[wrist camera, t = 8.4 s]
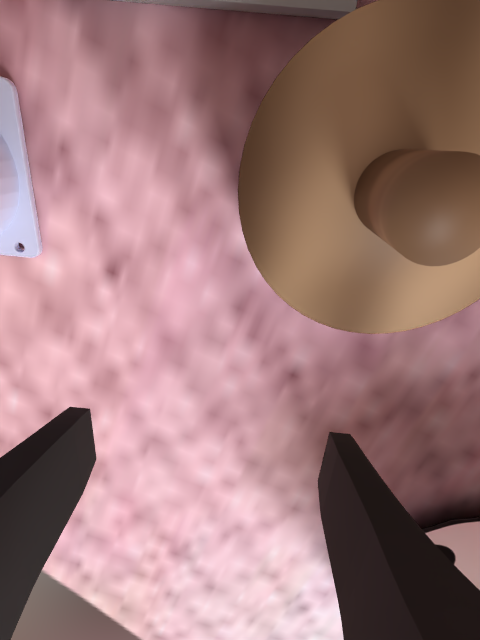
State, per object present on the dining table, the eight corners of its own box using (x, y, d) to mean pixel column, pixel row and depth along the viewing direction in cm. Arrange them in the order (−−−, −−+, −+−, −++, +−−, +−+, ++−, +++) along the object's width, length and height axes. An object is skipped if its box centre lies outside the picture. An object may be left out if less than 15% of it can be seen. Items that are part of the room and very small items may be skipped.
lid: (236, 320, 17) (229, 381, 13) (241, -2, 12) (232, -85, 8) (494, 330, 16) (577, 396, 12) (612, 0, 11) (826, -86, 7)
